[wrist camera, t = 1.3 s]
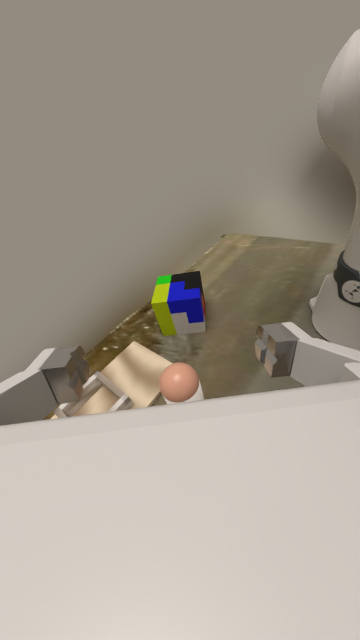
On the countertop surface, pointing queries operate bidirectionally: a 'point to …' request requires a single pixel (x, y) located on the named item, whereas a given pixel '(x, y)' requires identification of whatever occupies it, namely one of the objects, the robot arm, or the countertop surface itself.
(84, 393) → the jig cradle
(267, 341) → the robot arm
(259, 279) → the countertop surface
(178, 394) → the dome-capped white cylinder
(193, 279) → the puzzle toy
